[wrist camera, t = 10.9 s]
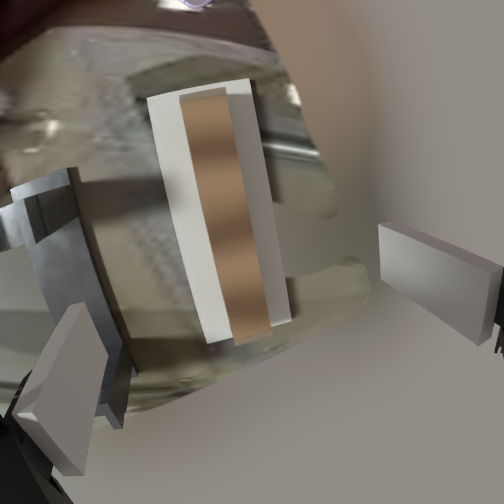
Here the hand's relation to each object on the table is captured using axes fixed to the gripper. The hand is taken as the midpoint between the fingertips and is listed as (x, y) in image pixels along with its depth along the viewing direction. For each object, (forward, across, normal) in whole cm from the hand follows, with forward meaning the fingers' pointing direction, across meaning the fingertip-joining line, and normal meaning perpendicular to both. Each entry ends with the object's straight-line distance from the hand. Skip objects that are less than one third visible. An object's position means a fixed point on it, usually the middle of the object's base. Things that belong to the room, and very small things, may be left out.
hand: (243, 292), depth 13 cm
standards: (+17, -14, -3) cm, 23 cm away
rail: (+16, +2, -1) cm, 16 cm away
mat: (+17, +2, 0) cm, 17 cm away
